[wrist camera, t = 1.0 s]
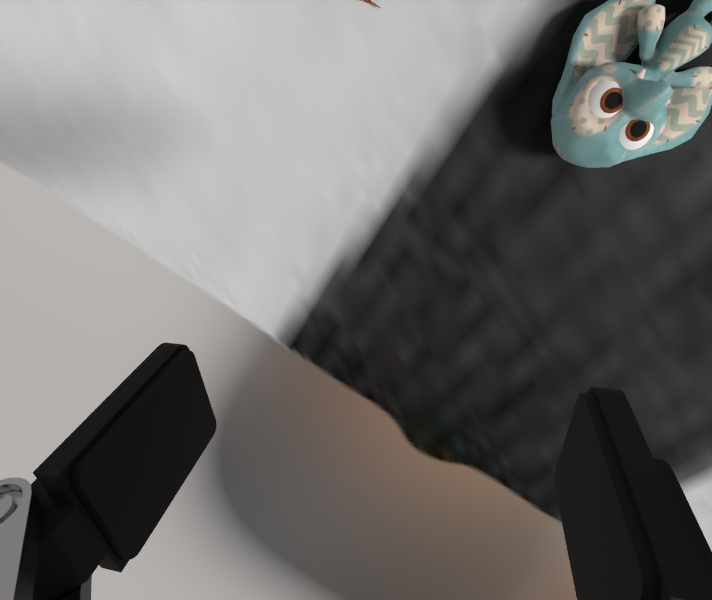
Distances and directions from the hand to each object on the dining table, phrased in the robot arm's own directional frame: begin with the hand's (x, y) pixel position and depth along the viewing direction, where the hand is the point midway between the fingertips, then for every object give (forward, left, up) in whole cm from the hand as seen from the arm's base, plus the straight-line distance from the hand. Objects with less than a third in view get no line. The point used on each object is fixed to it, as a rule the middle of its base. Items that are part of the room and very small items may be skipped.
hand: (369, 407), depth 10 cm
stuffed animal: (-13, +3, -28) cm, 31 cm away
